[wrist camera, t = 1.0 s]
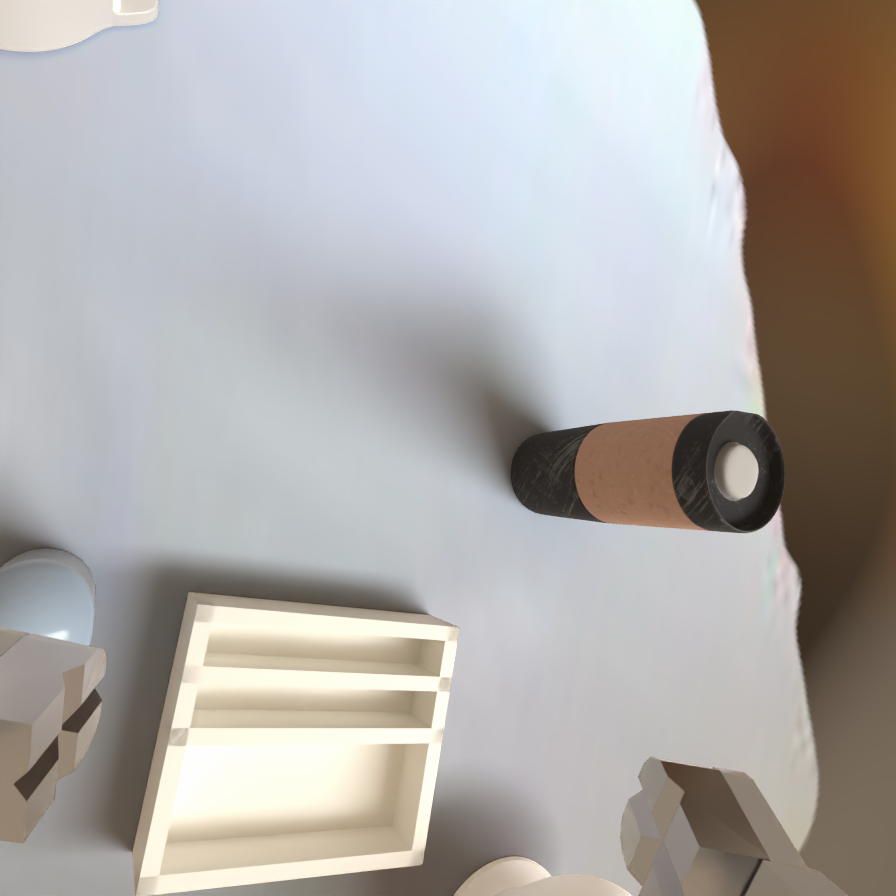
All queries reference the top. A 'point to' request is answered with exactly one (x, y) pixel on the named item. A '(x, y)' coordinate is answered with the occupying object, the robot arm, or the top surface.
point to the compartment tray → (293, 744)
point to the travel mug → (657, 472)
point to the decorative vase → (532, 881)
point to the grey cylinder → (48, 595)
